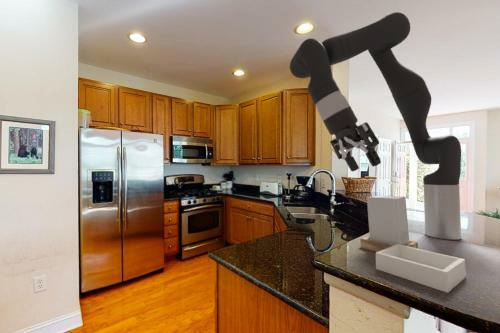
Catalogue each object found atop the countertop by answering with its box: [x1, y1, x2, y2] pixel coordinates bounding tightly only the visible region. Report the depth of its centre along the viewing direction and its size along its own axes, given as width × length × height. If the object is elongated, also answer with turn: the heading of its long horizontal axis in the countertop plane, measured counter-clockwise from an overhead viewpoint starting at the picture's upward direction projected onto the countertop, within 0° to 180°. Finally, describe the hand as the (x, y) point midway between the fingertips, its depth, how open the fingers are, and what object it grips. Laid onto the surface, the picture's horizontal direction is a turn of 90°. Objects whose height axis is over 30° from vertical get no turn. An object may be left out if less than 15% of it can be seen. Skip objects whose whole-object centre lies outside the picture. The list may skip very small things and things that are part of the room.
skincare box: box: [366, 195, 410, 245], centre depth 64 cm, size 8×6×15 cm
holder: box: [359, 235, 419, 253], centre depth 64 cm, size 9×11×2 cm
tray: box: [375, 244, 467, 294], centre depth 49 cm, size 11×13×4 cm
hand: (365, 167), depth 59 cm, fingers open, 8 cm apart
